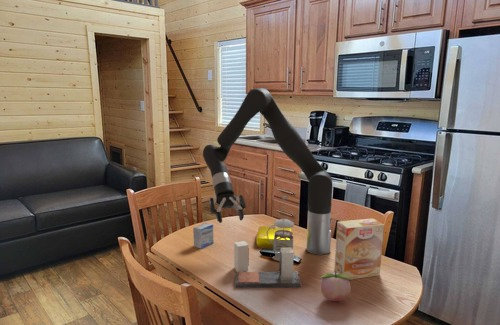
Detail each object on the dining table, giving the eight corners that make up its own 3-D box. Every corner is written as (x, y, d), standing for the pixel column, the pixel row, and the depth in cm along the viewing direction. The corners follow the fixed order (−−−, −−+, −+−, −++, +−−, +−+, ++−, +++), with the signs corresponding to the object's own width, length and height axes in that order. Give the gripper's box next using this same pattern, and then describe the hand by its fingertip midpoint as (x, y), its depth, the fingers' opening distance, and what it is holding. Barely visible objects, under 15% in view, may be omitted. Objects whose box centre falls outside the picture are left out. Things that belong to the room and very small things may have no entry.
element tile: (291, 236, 163) (291, 226, 162) (291, 249, 148) (291, 239, 147) (258, 234, 164) (259, 224, 164) (256, 247, 150) (256, 237, 149)
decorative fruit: (344, 293, 115) (346, 264, 113) (352, 308, 106) (354, 277, 105) (316, 293, 114) (317, 264, 112) (322, 308, 106) (323, 277, 104)
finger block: (245, 265, 133) (245, 240, 131) (248, 270, 129) (249, 244, 127) (234, 267, 131) (234, 242, 129) (237, 272, 128) (238, 246, 126)
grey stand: (297, 275, 126) (298, 245, 124) (300, 287, 118) (302, 255, 116) (235, 275, 125) (235, 245, 123) (235, 287, 117) (235, 255, 115)
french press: (294, 262, 136) (296, 200, 131) (264, 259, 138) (265, 198, 133) (296, 252, 145) (298, 193, 140) (268, 249, 147) (269, 191, 143)
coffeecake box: (343, 281, 122) (346, 227, 119) (333, 271, 129) (336, 220, 125) (380, 275, 126) (385, 224, 123) (369, 266, 133) (372, 217, 129)
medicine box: (200, 249, 147) (200, 229, 145) (193, 246, 149) (193, 227, 148) (213, 243, 153) (213, 224, 151) (206, 240, 156) (206, 222, 154)
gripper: (207, 182, 141) (215, 218, 132) (240, 179, 146) (250, 214, 137) (204, 191, 146) (212, 227, 138) (236, 188, 152) (245, 222, 143)
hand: (231, 220), depth 138 cm, fingers open, 8 cm apart
